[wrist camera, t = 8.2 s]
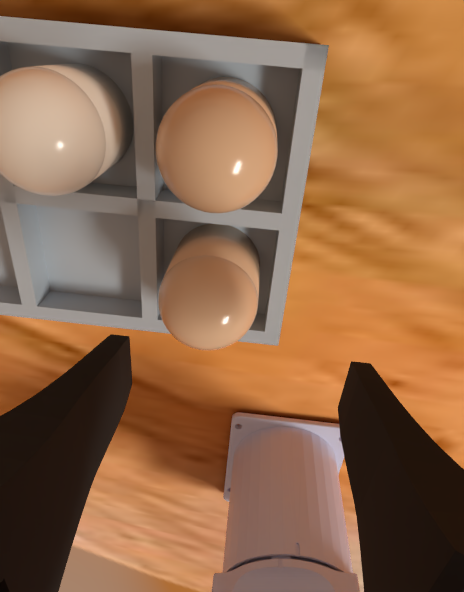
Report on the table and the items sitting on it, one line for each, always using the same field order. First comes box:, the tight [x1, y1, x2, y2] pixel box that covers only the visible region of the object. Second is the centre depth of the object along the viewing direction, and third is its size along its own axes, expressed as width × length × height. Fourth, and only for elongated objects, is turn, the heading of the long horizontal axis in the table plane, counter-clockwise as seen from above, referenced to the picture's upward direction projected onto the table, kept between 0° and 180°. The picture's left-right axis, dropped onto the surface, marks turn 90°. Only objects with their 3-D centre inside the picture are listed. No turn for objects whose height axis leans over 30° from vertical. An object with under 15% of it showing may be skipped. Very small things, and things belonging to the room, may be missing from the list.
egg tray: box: [0, 16, 329, 346], centre depth 20 cm, size 14×20×3 cm
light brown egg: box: [0, 63, 133, 196], centre depth 16 cm, size 4×4×6 cm
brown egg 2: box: [158, 224, 260, 350], centre depth 19 cm, size 4×4×6 cm
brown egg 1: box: [156, 77, 278, 213], centre depth 16 cm, size 4×4×6 cm
